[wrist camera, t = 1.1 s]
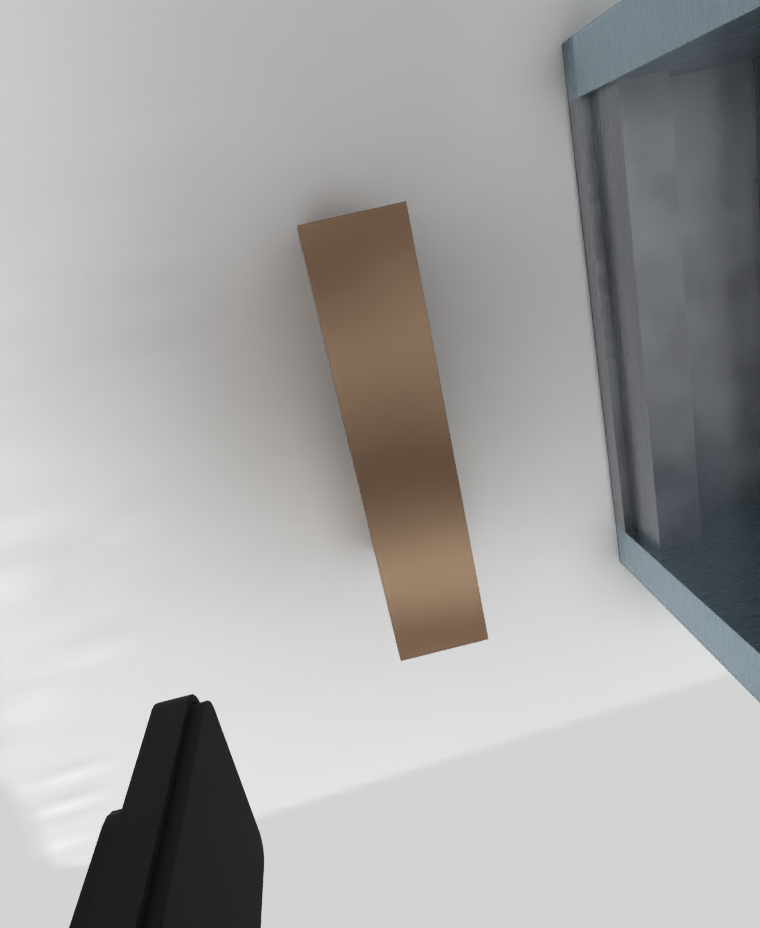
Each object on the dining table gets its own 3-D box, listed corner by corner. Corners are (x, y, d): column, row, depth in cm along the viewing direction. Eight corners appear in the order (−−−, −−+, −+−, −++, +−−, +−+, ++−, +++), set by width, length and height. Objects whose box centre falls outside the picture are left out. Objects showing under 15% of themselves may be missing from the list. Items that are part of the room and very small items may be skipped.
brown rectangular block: (297, 229, 27) (297, 225, 19) (372, 212, 28) (405, 201, 19) (373, 547, 32) (401, 660, 23) (437, 532, 32) (488, 639, 24)
